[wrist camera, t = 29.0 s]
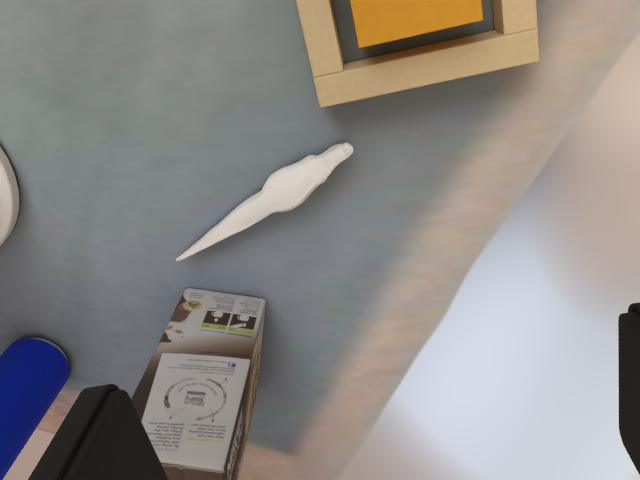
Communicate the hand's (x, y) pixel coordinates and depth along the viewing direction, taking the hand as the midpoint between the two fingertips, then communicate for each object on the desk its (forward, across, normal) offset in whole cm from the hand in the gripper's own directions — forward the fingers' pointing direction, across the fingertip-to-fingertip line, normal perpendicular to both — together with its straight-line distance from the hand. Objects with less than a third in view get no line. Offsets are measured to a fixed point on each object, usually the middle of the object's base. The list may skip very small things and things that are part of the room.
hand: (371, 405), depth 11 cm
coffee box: (+28, +14, +17) cm, 36 cm away
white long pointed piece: (+28, +8, +6) cm, 30 cm away
